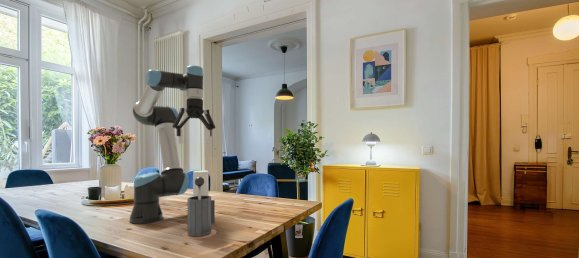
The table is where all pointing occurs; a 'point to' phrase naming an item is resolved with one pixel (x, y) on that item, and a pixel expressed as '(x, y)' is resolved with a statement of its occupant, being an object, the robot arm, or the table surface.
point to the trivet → (185, 235)
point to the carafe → (200, 216)
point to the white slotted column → (204, 187)
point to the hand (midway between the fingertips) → (194, 143)
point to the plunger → (199, 185)
